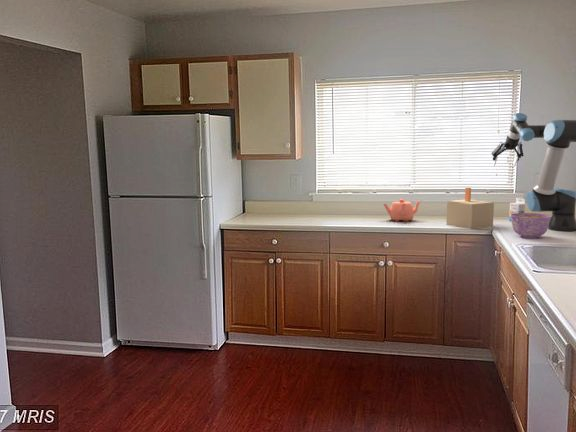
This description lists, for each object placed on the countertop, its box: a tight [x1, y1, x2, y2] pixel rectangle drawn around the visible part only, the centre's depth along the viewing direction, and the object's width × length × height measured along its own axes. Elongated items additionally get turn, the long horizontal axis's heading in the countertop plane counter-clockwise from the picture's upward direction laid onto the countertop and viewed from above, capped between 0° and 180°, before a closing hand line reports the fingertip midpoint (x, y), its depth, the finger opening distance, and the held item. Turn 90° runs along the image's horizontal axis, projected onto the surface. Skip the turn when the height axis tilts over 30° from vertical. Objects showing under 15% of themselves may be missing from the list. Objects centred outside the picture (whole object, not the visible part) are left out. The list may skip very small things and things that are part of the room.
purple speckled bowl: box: [510, 212, 552, 239], centre depth 288 cm, size 20×20×12 cm
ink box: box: [508, 197, 526, 222], centre depth 342 cm, size 8×5×15 cm, turn 17°
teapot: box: [383, 198, 422, 223], centre depth 351 cm, size 18×18×14 cm
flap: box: [447, 187, 481, 203], centre depth 331 cm, size 10×18×8 cm, turn 118°
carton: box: [445, 200, 495, 230], centre depth 328 cm, size 20×18×14 cm
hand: (503, 164), depth 354 cm, fingers open, 13 cm apart
